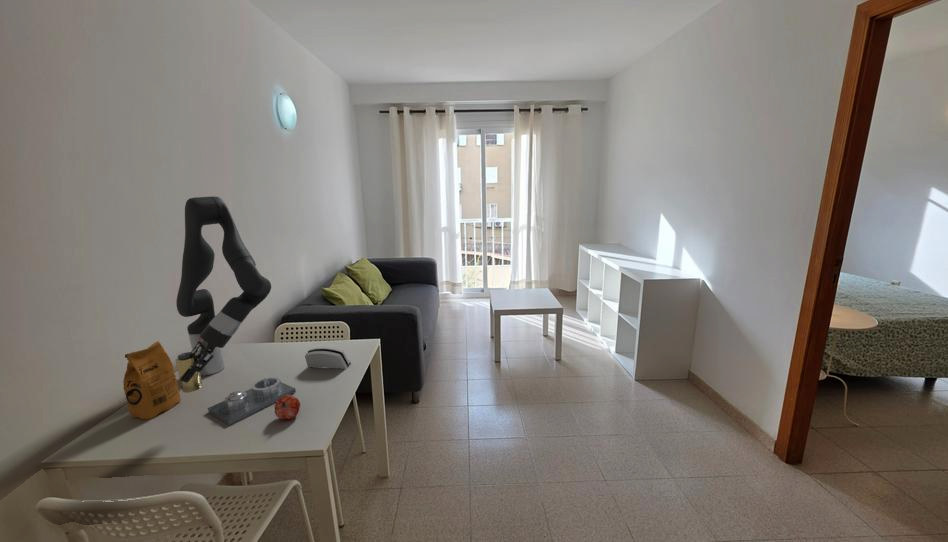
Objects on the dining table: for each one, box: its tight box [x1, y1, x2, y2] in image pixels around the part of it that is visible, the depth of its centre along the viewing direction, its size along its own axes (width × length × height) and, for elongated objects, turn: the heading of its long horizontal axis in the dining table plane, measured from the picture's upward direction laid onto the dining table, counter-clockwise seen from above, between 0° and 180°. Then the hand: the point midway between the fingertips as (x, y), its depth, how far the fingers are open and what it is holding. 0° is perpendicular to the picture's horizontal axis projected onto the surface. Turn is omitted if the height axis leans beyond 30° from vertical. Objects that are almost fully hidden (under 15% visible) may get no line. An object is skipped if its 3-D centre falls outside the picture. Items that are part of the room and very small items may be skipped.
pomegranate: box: [274, 394, 301, 420], centre depth 121 cm, size 7×7×10 cm
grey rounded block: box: [304, 346, 352, 370], centre depth 154 cm, size 17×5×10 cm, turn 81°
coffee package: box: [122, 341, 181, 420], centre depth 127 cm, size 10×12×22 cm
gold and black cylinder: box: [174, 351, 204, 393], centre depth 117 cm, size 5×5×11 cm
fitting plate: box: [207, 376, 297, 426], centre depth 131 cm, size 14×22×6 cm, turn 147°
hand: (182, 377), depth 116 cm, fingers closed on gold and black cylinder, 5 cm apart
